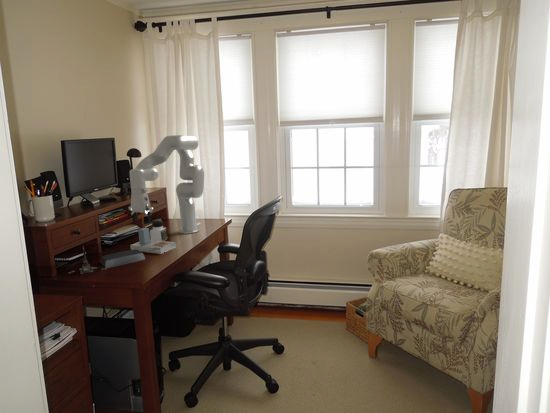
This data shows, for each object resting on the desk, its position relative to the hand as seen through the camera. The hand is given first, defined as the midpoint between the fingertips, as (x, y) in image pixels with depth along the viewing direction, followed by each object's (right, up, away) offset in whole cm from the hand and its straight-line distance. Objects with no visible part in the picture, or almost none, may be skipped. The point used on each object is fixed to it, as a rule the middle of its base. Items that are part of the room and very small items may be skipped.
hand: (141, 222), depth 221 cm
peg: (+1, -15, +3) cm, 15 cm away
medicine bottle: (+4, -12, +18) cm, 22 cm away
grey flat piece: (+6, -15, 0) cm, 16 cm away
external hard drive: (-3, -20, -18) cm, 27 cm away
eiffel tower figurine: (-15, -23, -30) cm, 41 cm away
